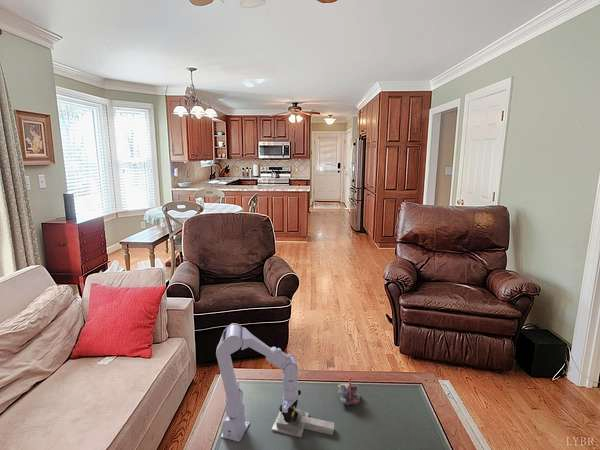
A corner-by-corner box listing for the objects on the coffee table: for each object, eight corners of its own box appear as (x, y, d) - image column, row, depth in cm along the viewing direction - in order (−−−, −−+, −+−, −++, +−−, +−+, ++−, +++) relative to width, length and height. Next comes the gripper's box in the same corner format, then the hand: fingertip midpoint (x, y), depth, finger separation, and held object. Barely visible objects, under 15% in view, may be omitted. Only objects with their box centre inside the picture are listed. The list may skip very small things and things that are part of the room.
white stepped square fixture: (330, 444, 131) (330, 437, 131) (271, 430, 138) (271, 424, 137) (336, 420, 143) (336, 414, 142) (282, 408, 149) (281, 402, 148)
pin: (293, 427, 140) (293, 412, 138) (283, 424, 141) (282, 409, 139) (297, 418, 144) (296, 404, 142) (287, 416, 145) (286, 402, 143)
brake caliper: (366, 405, 147) (349, 384, 146) (345, 416, 150) (328, 396, 148) (364, 386, 158) (348, 367, 157) (344, 398, 161) (329, 379, 159)
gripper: (294, 400, 130) (295, 430, 133) (304, 375, 143) (305, 403, 147) (276, 396, 132) (277, 426, 135) (288, 372, 145) (289, 400, 149)
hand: (290, 414), depth 141 cm, fingers open, 7 cm apart
